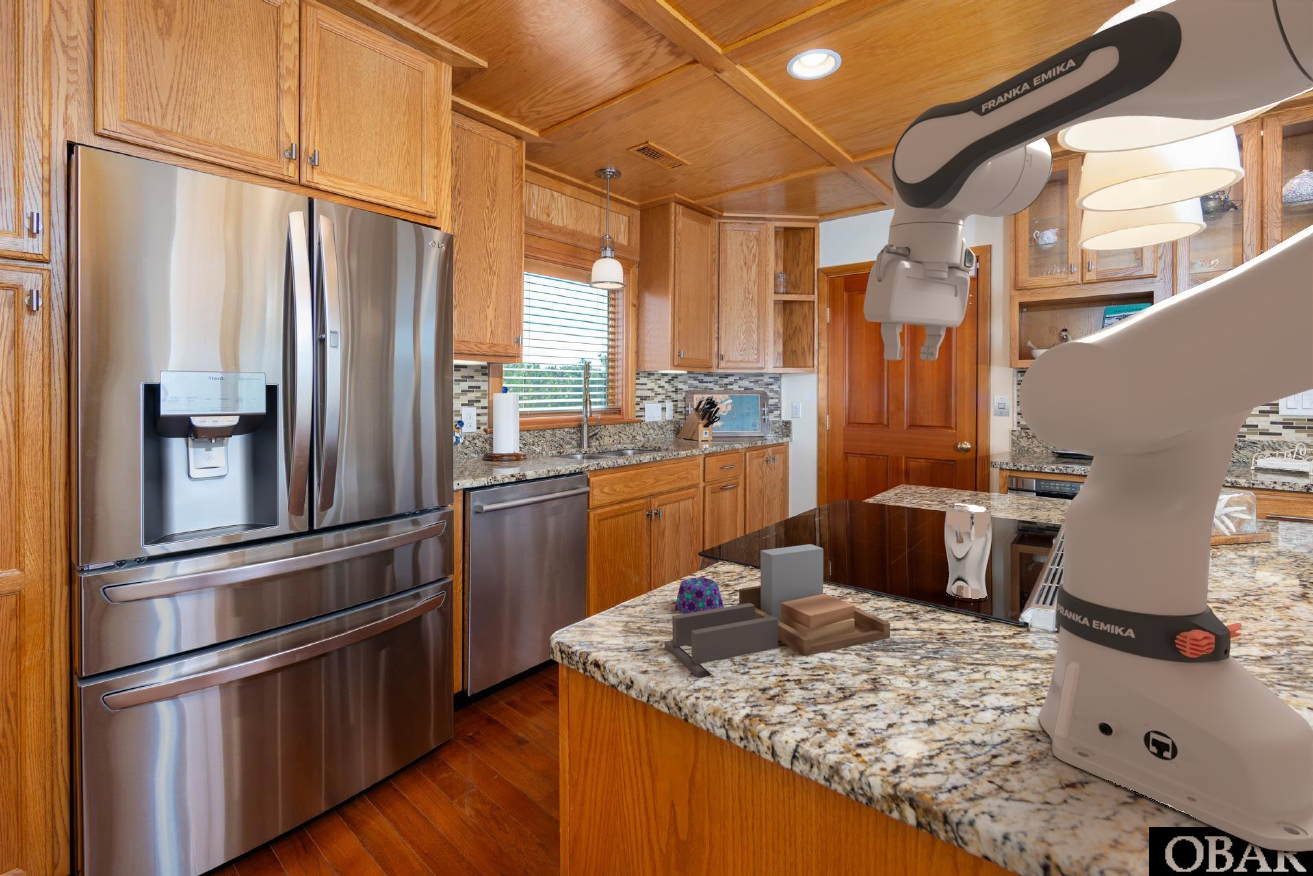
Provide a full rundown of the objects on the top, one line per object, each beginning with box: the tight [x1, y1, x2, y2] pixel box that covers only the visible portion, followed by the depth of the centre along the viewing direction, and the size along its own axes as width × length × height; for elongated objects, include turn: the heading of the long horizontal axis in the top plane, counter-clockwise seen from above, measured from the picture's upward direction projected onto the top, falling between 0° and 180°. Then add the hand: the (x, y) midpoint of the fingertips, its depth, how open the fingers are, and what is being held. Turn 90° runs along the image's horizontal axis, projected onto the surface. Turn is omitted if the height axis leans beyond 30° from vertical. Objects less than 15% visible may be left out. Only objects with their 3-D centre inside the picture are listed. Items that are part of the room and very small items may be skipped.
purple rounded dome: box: [674, 577, 725, 614], centre depth 97 cm, size 12×12×5 cm
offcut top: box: [781, 593, 855, 629], centre depth 87 cm, size 6×8×2 cm
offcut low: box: [781, 616, 855, 641], centre depth 87 cm, size 6×8×2 cm
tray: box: [738, 585, 891, 657], centre depth 89 cm, size 16×14×5 cm
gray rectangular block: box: [760, 543, 824, 622], centre depth 92 cm, size 3×9×10 cm, turn 113°
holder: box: [664, 603, 779, 679], centre depth 82 cm, size 10×13×5 cm
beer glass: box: [944, 503, 993, 599], centre depth 103 cm, size 7×7×15 cm
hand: (911, 360), depth 82 cm, fingers open, 8 cm apart
